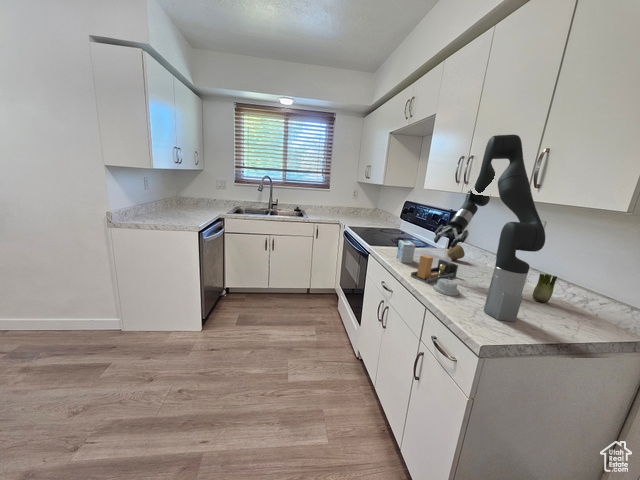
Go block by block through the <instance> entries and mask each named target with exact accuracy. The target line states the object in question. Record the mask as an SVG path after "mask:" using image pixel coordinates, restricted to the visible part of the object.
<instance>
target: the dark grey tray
mask: <svg viewBox="0 0 640 480" xmlns="http://www.w3.org/2000/svg"><path fill="white" fill-rule="evenodd" d="M417 272H418V270H416V271H413V272H410V277H412V278H414V279H416V280H417V281H421V282H423V283H425V284H430V283H434V282H438V279H441V278H442V279H443V278H444V279H450V278H453V277H454V274H455V273H450V274H449V273H447V272H444V274H440V273H439V267H438V266H436V267H431V272H430V274H433V273H439V274H438V276H437V277H432V278H430V277H429V278H426V279H423V278H420V277H418V276H417ZM454 278H455V277H454Z"/></svg>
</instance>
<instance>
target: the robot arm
mask: <svg viewBox="0 0 640 480" xmlns="http://www.w3.org/2000/svg"><path fill="white" fill-rule="evenodd" d="M493 160H508V161H509V164H508V166H507V167H506V169H504V171H503V172H502V173H501V175H500V176H499V178H498V180H497V189H498V190H497V191H498V194H499V199H500V200H501V202H503V204H504V205H505V206H506V207H507V208H508V209H509V210H510V211H511V212H512V213H513V214H514V215H515V216H516V217H517V219H518V221H508V222H506V223H505V224H504V226H503V227H502V229H501V232H500V236H499V240H498V244H497V245H498V246H497V251H496V255H495V256H496V257H495V259H496V260H495V265H494V269H493V272H492V277H491V280H490V282H489V283H490V284H489V287H488V290H487V291H488V292H487V295H486V299H485V303H484V307H483V312H484V313H485V314H487V315H489V316H491V317H493V318H495V319H496V320H499V321H506V322H512V323H513V322H516V321H517V318H518V314H519V311H520V308H521V304H522V301H523V297H524V296H522V295H523V291H524V288H525V285H526V281H527V277H528V274H529V271H530V264H529V263H528V262H526V261H525V260H522V259H520V258H518V257H517V256H516V252H517V251H520V252H521V251H522V252H535V253H536V252H539V251H541V250H542V249H543V248H544V246H545V242H546V232H545V228H544V227H545V226H544V225H543V222H542V219H541V218H540V216H539V213H538V211H537V208H536V204H535V202H534V198H533V195H532V189H531V185H530V181H529V177H528V174H527V170H526V167H525V165H526V164H525V161H524V153H523V143H522V139H521V137H520V136H519V135H517V134H497V135H493V136H491V137H490V138H489V140H488V142H487V143H486V147H485V150H484V154H483V158H482V162H481V166H480V172H479V174H478V177H477V179H476V181H475V184H474V186H473V187H474V188H475V190H476V191H477V192H478V193H481V192H483V191H484V190H485V188H486V187H487V186H488V185H489V184H490V183H491V182H492V180H493V179H494V176H495V173H496V172H495V169H494V166H493V165H492V161H493ZM469 190H470V191H469ZM469 190H468V191H467V193H470V194H467V193H466V196H465V199H464V202H463V204H462V206H461V207H460V208H459V210H458V211H456V212H455V214H454V215H453V217H452V218H451V220H450V221H449V222H448V224H447V225H446V226H444V224H440V225H439V226H438V227H437V229H436V230H434V234H435V237H434V238H433V242H434V243H435V244H437V243H438V242H439V241H440V240H441V238H442V237H447V236H448V237H452V238H454V239H453V241H452V242H451V244H450V246H451V248H454V247H455V246H456V245H459V243H465V241H466V239H467V238H468V236H469V230H467V226H469V224H470V222H471V221H472V219H473V217H474V216H475V214H476V213H477V211H478V210H479V208H478V206H479V207H485V206H487V205H488V204H489V203H490V202H489V201H490V199H491V196H490V197H489V196H483V195H475V194H473V193H472V191H471V189H469ZM460 235H461V236H460ZM459 236H460V237H459Z"/></svg>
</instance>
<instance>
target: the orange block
mask: <svg viewBox="0 0 640 480" xmlns="http://www.w3.org/2000/svg"><path fill="white" fill-rule="evenodd" d="M433 262H434V257H433V256H430V255H427V254H423V255H420V257H419V262H418V268H417V271H418V272H417V276H418V277H420V278H423V279H426V278H429V277H430V278H432V277H437V276H438V274H439V273H433V274H430V272H431V268H433V267H432V266H433Z"/></svg>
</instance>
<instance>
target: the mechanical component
mask: <svg viewBox="0 0 640 480" xmlns="http://www.w3.org/2000/svg"><path fill="white" fill-rule="evenodd" d="M436 282H437V283H433V290H434V291H436V292H438V293H440V294H443V295H446V296H451V297H452V296H458V295H459V294H460V290H459V289H458V283H457V282H456V280H455V281H454V280H450V278H447V279H444V278H443V279H442V278H441V279H438V281H436Z"/></svg>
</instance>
